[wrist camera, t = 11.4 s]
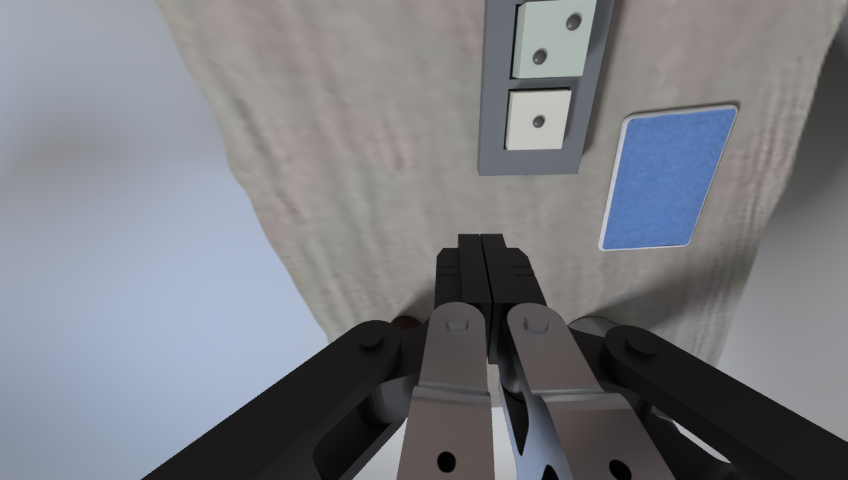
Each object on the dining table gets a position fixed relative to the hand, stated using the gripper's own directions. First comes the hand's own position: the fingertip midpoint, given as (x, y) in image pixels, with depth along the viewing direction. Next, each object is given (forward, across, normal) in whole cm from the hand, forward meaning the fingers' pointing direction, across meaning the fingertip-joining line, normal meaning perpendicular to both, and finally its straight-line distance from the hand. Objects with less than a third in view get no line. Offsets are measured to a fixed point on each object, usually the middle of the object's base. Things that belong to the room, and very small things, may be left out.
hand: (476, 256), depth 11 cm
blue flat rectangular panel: (+33, -27, +10) cm, 44 cm away
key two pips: (+29, -9, -7) cm, 31 cm away
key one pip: (+31, -9, 0) cm, 32 cm away
